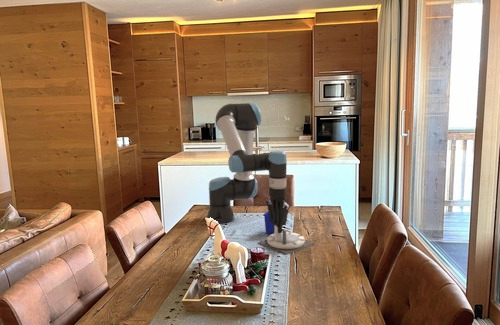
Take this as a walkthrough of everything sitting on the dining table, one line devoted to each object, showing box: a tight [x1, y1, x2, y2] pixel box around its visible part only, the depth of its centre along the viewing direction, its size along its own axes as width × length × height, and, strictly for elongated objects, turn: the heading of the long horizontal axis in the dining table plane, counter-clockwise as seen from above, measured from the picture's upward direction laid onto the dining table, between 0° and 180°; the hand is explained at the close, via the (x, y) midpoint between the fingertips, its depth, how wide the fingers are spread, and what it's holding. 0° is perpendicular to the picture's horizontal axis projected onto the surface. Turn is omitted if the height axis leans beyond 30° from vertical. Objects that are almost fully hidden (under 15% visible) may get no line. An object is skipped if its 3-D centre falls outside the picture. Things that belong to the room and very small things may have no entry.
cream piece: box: [267, 229, 306, 249], centre depth 172 cm, size 17×17×8 cm
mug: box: [263, 211, 275, 235], centre depth 188 cm, size 8×12×10 cm
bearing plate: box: [257, 229, 315, 255], centre depth 172 cm, size 18×18×3 cm
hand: (277, 239), depth 166 cm, fingers closed
